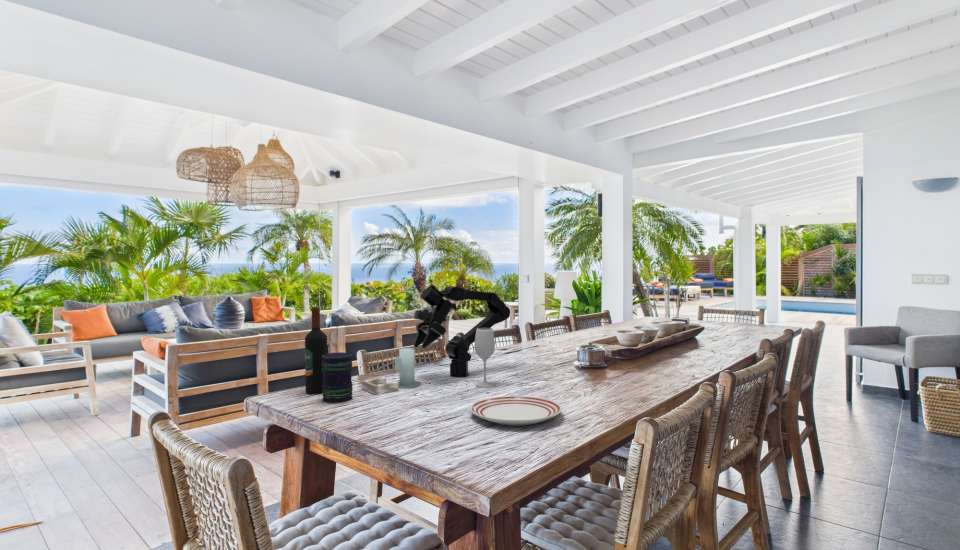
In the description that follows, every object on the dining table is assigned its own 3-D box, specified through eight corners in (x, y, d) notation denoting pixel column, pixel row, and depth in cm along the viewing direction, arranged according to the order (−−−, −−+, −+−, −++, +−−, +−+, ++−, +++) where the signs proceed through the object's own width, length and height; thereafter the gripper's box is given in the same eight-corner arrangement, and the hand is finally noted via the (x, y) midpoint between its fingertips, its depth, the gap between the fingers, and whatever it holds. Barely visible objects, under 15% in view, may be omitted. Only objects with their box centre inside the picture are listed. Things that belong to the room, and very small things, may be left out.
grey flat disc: (425, 382, 196) (425, 381, 196) (416, 389, 185) (416, 388, 185) (397, 380, 198) (397, 379, 198) (387, 387, 187) (387, 386, 187)
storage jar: (345, 393, 179) (344, 351, 179) (357, 399, 172) (357, 355, 171) (317, 398, 173) (316, 354, 172) (329, 405, 165) (328, 359, 165)
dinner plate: (457, 409, 161) (457, 398, 161) (535, 400, 171) (535, 390, 171) (489, 437, 136) (489, 424, 136) (579, 425, 145) (579, 413, 145)
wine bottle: (324, 394, 179) (322, 308, 178) (302, 394, 179) (301, 308, 178) (330, 388, 186) (329, 306, 185) (310, 388, 186) (308, 306, 185)
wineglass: (472, 386, 188) (471, 329, 188) (478, 382, 196) (477, 327, 195) (491, 388, 186) (491, 330, 185) (497, 383, 193) (497, 327, 193)
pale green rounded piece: (409, 381, 195) (409, 347, 195) (417, 384, 191) (417, 349, 191) (391, 384, 190) (391, 349, 190) (399, 387, 186) (399, 351, 186)
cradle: (384, 385, 191) (384, 377, 191) (398, 390, 183) (398, 382, 183) (361, 389, 185) (361, 381, 185) (375, 395, 177) (375, 386, 177)
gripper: (416, 302, 207) (394, 335, 202) (432, 300, 190) (409, 335, 185) (437, 318, 210) (417, 350, 205) (455, 317, 194) (433, 352, 189)
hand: (418, 347), depth 196 cm, fingers open, 9 cm apart
